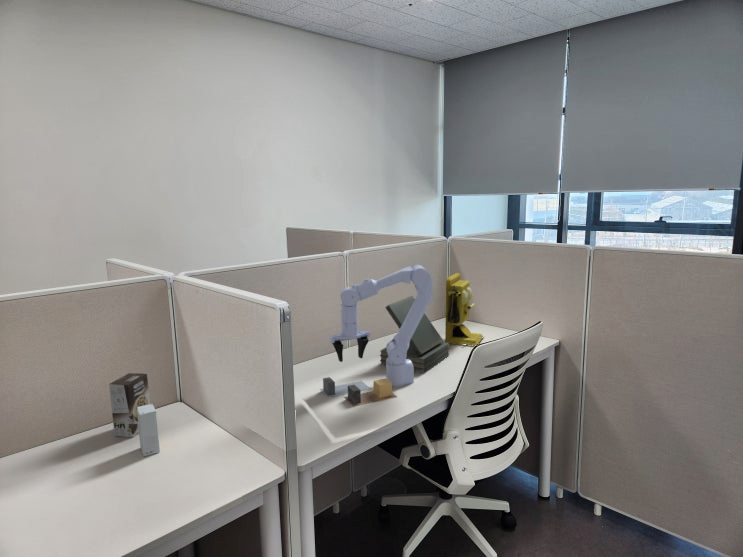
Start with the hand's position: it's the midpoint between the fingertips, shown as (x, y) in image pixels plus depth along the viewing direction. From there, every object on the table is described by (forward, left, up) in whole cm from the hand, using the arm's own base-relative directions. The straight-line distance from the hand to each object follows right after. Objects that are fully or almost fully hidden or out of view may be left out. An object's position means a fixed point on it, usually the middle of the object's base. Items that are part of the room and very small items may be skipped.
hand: (350, 359), depth 173 cm
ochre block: (-6, +13, -9) cm, 17 cm away
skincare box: (+66, +14, -11) cm, 68 cm away
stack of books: (-34, -13, -11) cm, 38 cm away
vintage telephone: (-67, -24, -11) cm, 72 cm away
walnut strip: (-1, +13, -10) cm, 17 cm away
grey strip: (+4, +3, -10) cm, 12 cm away
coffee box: (+70, -1, -11) cm, 71 cm away
